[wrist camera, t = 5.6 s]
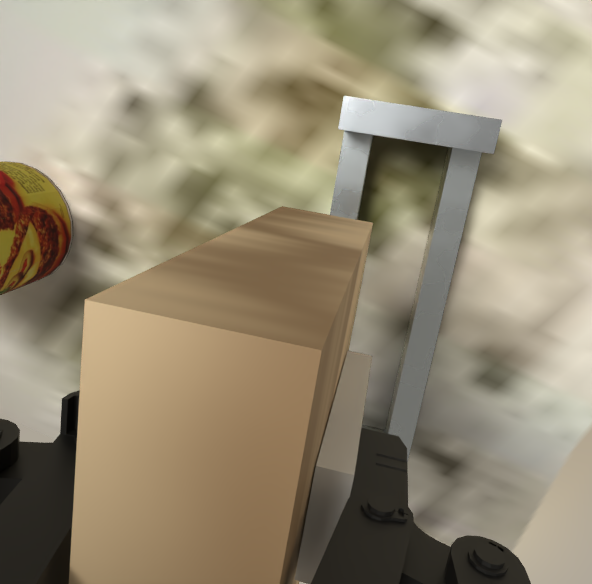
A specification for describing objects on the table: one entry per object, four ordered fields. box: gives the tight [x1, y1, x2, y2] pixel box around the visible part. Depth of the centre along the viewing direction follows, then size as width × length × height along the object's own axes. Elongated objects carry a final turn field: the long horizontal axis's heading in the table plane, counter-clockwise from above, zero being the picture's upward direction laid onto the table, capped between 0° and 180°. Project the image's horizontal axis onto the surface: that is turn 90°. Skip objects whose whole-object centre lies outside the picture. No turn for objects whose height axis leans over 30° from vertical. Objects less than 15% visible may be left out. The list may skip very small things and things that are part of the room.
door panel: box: [69, 206, 373, 584], centre depth 14 cm, size 3×10×12 cm, turn 171°
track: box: [330, 96, 502, 462], centre depth 32 cm, size 7×21×6 cm, turn 171°
